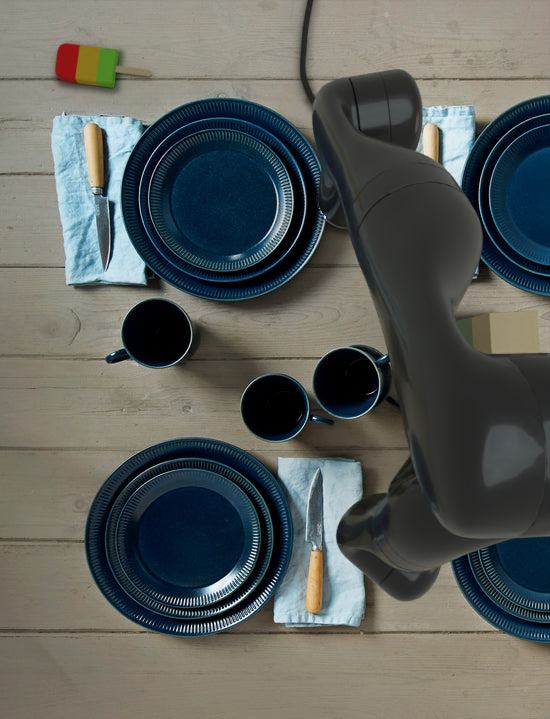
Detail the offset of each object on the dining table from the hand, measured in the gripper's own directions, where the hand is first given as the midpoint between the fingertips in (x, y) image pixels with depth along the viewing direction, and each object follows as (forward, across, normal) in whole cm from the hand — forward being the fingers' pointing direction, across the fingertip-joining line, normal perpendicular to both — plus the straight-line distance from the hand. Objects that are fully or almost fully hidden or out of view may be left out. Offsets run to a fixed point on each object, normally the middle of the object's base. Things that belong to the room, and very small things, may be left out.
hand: (490, 389), depth 79 cm
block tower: (+8, +6, +3) cm, 10 cm away
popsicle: (-4, +75, +14) cm, 76 cm away
